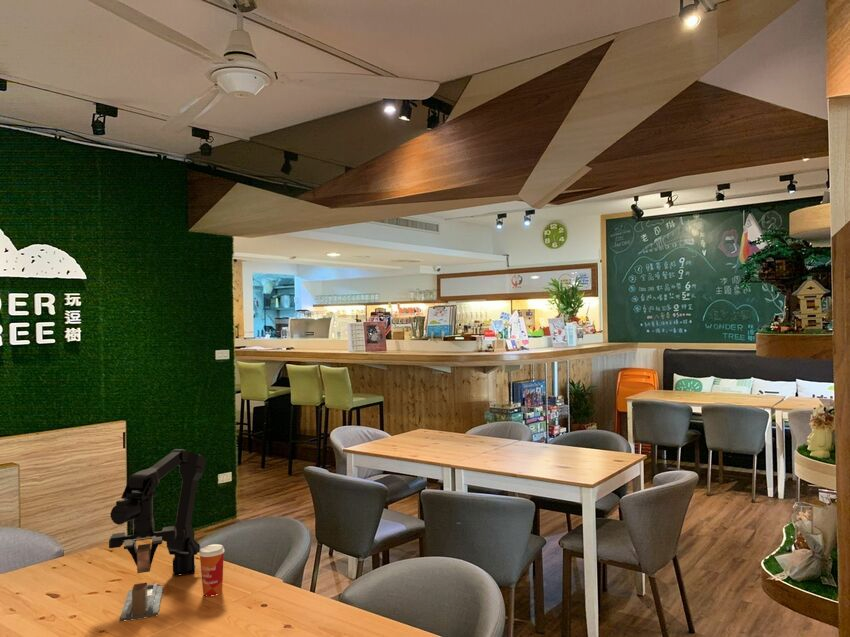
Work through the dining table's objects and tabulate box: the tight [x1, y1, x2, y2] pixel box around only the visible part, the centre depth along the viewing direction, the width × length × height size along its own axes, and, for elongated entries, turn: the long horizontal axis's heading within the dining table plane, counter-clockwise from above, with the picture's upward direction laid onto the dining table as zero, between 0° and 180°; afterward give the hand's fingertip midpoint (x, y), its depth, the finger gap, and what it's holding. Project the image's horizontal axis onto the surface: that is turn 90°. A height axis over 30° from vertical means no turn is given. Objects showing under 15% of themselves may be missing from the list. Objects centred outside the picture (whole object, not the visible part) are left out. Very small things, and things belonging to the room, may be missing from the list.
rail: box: [119, 582, 164, 622], centre depth 185 cm, size 10×20×8 cm, turn 19°
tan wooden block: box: [136, 543, 152, 574], centre depth 191 cm, size 4×6×7 cm, turn 19°
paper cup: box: [198, 543, 226, 596], centre depth 192 cm, size 8×8×14 cm
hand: (144, 564), depth 191 cm, fingers closed on tan wooden block, 3 cm apart
